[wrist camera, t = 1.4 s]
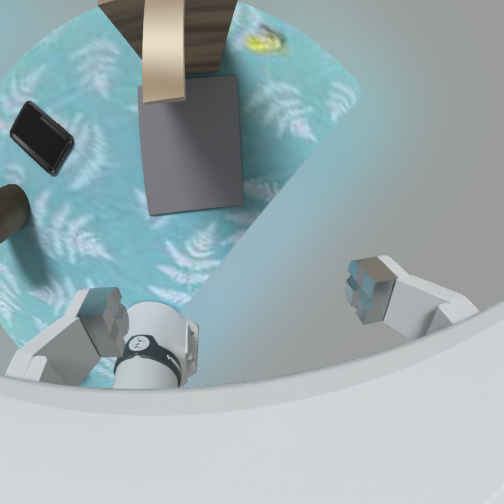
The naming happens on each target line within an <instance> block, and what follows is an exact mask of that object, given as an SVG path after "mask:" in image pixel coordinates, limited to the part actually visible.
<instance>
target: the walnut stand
mask: <svg viewBox="0 0 504 504" xmlns="http://www.w3.org/2000/svg"><path fill="white" fill-rule="evenodd" d="M237 1H238V0H185V24H184V52H185V74H194V73H206V72H218V70H219V66H220V62H221V58H222V54H223V50H224V46H225V42H226V38H227V35H228V31H229V28H230V24H231V21H232V17H233V14H234V10H235V7H236V4H237ZM98 6H99V7H100V9H101V10H102V11H103V12H104V13H105V15H106V16H107V17H108V18H109V19H110V21H111V22H112V23H113V24H114V26H115V27H116V28H117V29H118V30H119V32H120V33H121V34H122V35H123V37H124V38H125V39H126V40H127V42H128V43H129V44H130V45H131V47H132V48H133V49H134V50H135V52H136V53H137V54H138V56H139V57H140V58H141V59H142V49H143V23H144V8H145V0H99V1H98Z"/></svg>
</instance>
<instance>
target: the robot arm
mask: <svg viewBox="0 0 504 504" xmlns="http://www.w3.org/2000/svg"><path fill="white" fill-rule="evenodd" d="M348 272H349V273H350V275H351V276H350V277H349V278H348V279H347V281H346V286H345V293H346V297H347V300H348V302H349V304H350V305H351V306H353V307H355V308H357V311H356V314H357V316H358V317H359V319H360V320H361V322H362V323H363V325H366V324H370V323H375V322H379V321H383V322H385V323H386V324H388V325H390V326H391V327H393V328H394V329H396V330H397V331H399V332H401V333H402V334H404V335H405V336H407V337H408V338H410V339H412V341H410V342H407V343H404V344H401V345H398V346H395V347H392V348H389V349H386V350H383V351H380V352H376V353H373V354H370V355H366V356H363V357H360V358H356V359H352V360H349V361H345V362H341V363H337V364H333V365H329V366H325V367H320V368H316V369H311V370H307V371H302V372H297V373H292V374H287V375H281V376H276V377H270V378H263V379H257V380H250V381H243V382H235V383H227V384H217V385H207V386H195V387H181V386H183V385H185V384H186V383H187V377H190V376H192V375H194V374H195V373H196V371H197V353H198V332H199V326H198V324H197V323H196V322H194V321H191V320H189V319H186V318H185V317H183V316H182V315H181V314H180V313H179V312H177V311H176V310H175V309H173V308H172V307H170V306H168V305H165V304H162V303H158V302H141V303H138V304H135V305H133V306H131V307H130V308H129V309H128V310H126V307H125V306H123V305H122V304H121V303H120V301H121V298H122V296H121V294H120V291H119V289H118V288H117V287H107V288H92V289H91V288H89V289H80V290H78V291H77V293H76V295H75V296H74V298H73V300H72V302H71V304H70V306H69V308H68V309H67V311H66V313H65V315H64V317H63V318H59V319H58V320H56V321H55V322H54V323H52V324H51V325H50V326H48V327H47V328H46V329H45V330H43V331H42V332H41V333H39V334H38V335H37V336H35V337H34V338H33V339H32V340H30V341H29V342H28V343H27V344H25V345H24V346H23V347H22V348H20V349H19V350H18V351H17V352H16V353H15V355H14V357H13V359H12V361H11V363H10V365H9V367H8V369H7V372H6V374H5V376H4V375H0V504H504V300H503V301H500V302H499V303H497V304H495V305H493V306H491V307H489V308H487V309H485V310H483V311H481V312H480V311H478V309H477V308H475V306H474V305H473V304H472V303H471V302H470V301H469V300H468V299H467V298H466V297H465V296H463V295H461V294H459V293H456V292H454V291H451V290H449V289H446V288H444V287H441V286H439V285H436V284H434V283H431V282H429V281H426V280H423V279H421V278H418V277H416V276H409V275H408V274H407V273H406V272H405V271H404V270H403V269H402V268H401V267H400V266H399V265H398V264H397V263H396V262H395V261H394V260H393V259H391V258H390V257H389V256H388V255H381V256H376V257H371V258H364V259H358V260H352V261H351V262H350V264H349V267H348ZM100 357H115V358H116V359H115V364H114V380H113V384H112V388H95V387H81V386H79V385H80V383H81V382H82V381H83V380H84V378H85V377H86V376H87V375H88V374H89V372H90V371H91V370H92V369H93V368H94V366H95V365H96V364H97V363H98V362H99V360H100V359H101V358H100ZM179 387H180V388H179Z"/></svg>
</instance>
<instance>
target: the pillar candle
mask: <svg viewBox="0 0 504 504" xmlns="http://www.w3.org/2000/svg"><path fill="white" fill-rule="evenodd" d="M28 216H29V204H28V199H27V197H26V194H25V193H24V191H23V190H22V189H21V188H20V187H19V186H18V185H16V184H8V185H6V186H3V187H1V188H0V243H2V242H3V241H5V240H6V239H8V238H9V237H10V236H12V235H13V234H15V233H16V232H17V231H19V230H21V229H22V228H23V227H24V226H25V224H26V222H27V220H28Z"/></svg>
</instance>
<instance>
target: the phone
mask: <svg viewBox="0 0 504 504" xmlns="http://www.w3.org/2000/svg"><path fill="white" fill-rule="evenodd" d="M10 137H11V138H12V139H13V140H14V141H15V142H16V143H17V144H18V145H19V146H20V147H21V148H22V149H23V150H24V151H25V152H27V153H28V154H29V155H30V156H31V157H32V158H33V159H34V160H35V161H36V162H37V163H38V164H39V165H40V166H41V167H43V168H44V169H45V170H46V171H47V172H48V173H50V174H52V173H55V172H56V171H57V170H58V168H59V166H60V164H61V163H62V161H63V159H64V158H65V156H66V154H67V153H68V151H69V149H70V148H71V146H72V145H73V142H74V139H73V137H72V136H71V135H70V134H69V133H68V132H67V131H66V130H65V129H64V128H63V127H61V126H60V125H59V124H58V123H56V122H55V121H54V120H53V119H52V118H51V117H49V116H48V115H47V114H46V113H45V112H44V111H43V110H41V109H40V108H39V107H38V106H37V105H36V104H35V103H33V102H32V101H27V102H26V103H25V104H24V106H23V107H22V109H21V111H20V113H19V114H18V116H17V118H16V120H15V122H14V124H13V126H12V128H11V130H10Z"/></svg>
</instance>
